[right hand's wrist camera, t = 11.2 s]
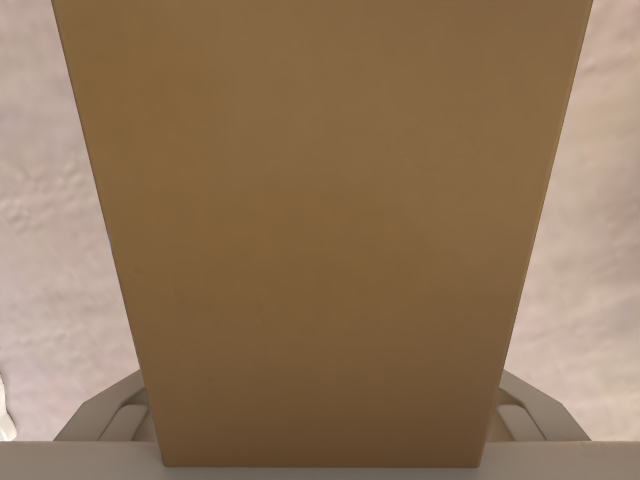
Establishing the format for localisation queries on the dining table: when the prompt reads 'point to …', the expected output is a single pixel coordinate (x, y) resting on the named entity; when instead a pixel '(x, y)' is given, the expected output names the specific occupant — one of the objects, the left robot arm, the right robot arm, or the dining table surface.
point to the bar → (321, 213)
